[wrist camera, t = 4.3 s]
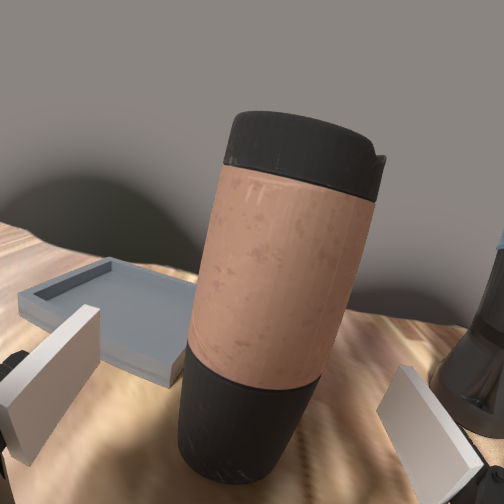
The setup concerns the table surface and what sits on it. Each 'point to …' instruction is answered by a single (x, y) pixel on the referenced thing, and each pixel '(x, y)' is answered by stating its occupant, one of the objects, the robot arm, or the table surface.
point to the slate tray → (122, 314)
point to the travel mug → (272, 287)
